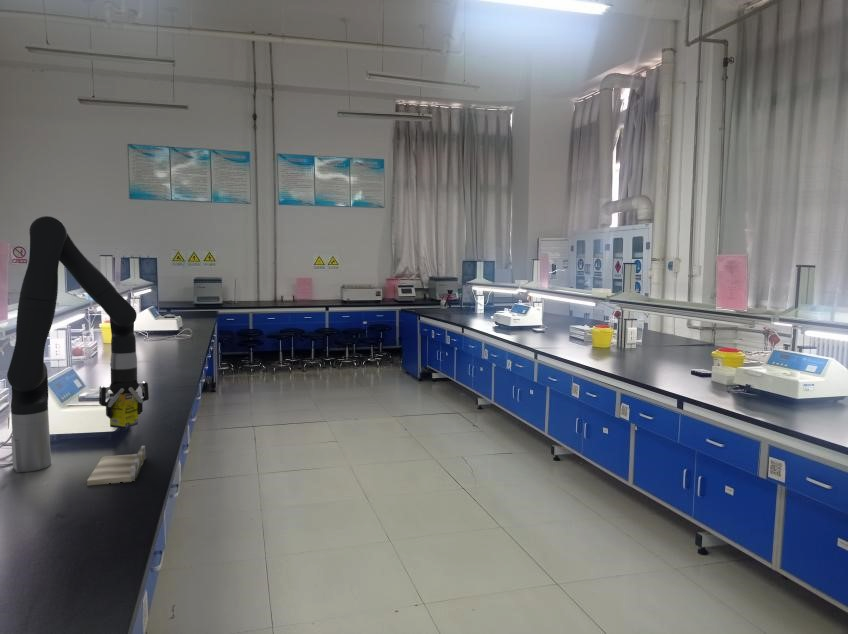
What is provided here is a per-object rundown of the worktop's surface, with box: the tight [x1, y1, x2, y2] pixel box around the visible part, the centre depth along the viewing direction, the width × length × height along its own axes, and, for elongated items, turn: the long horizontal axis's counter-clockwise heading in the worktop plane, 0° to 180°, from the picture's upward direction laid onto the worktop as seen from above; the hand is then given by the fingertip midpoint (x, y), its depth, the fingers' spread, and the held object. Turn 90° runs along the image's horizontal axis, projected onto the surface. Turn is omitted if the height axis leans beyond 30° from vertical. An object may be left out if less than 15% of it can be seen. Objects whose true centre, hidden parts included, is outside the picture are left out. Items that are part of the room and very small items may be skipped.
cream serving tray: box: [86, 445, 146, 486], centre depth 177 cm, size 20×12×4 cm, turn 17°
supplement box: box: [109, 390, 139, 430], centre depth 191 cm, size 6×6×11 cm
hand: (124, 415), depth 191 cm, fingers closed on supplement box, 8 cm apart
